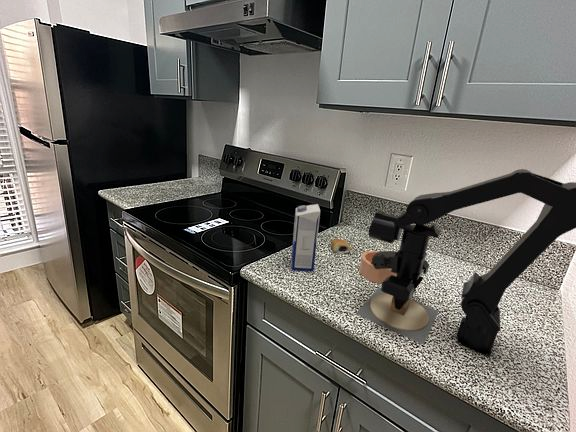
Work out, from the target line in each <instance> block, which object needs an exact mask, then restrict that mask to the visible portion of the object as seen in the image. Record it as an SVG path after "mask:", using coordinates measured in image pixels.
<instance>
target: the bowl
mask: <svg viewBox="0 0 576 432" xmlns="http://www.w3.org/2000/svg"><path fill="white" fill-rule="evenodd" d="M377 252H380V251H379V250H367V251H365V252H363V253H362V254H361V257H360V262H359V263H360V264H359V274H360V276H362V277H364V279H366V280H368V281H371V282H373V283H376V284H380V285H382V282H383V281H384V280H385V279H386V278H387V277H388V276H391V275H393V276H397V273H393V272H391V269H375V268H374V266H373V265H372V264H371V262H372V258H373V256H374V255H375V254H376V253H377Z"/></svg>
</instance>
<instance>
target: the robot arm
mask: <svg viewBox="0 0 576 432" xmlns="http://www.w3.org/2000/svg"><path fill="white" fill-rule="evenodd" d="M516 194H522V195H526V196H527V197H530V198H532V199H534V200H535V201H539V202H540V203H543V204H544V205H543V207H542V208H541V211H540V213H539V215H538V217H537V219H536V220H535V222H534V223H533V224H532V225H531V226H530V227H529V228H528V230H526V231H525V232H524V234H523V235H522V236H521V237H520V238H519V239H518V240H517V241H516V242H515V243H514V245H512V247H510V249H509V250H508V251H507V252H506V253H505V254H504V255H503V256H502V257H501V258H500V260H499V261H498V262H497V263H496V264H495V265H494V266H493V267H492V268H491V269H490V270H489V271H488V272H486V273H485V274H482V275H480V274H478V273H477V272H473V274H472V276H471V277H470V279H468V281H466V282H464V283H463V286H462V291H461V295H460V296H461V303H460V307H461V310H462V312H463V313H464V314H465V317H461V319H460V324H459V326H458V329H457V333H456V336H455V337H456V338H457V342H456V343H457V344H458V345H460V346H463V347H465V348H467V349H470V350H471V351H474V352H476V353H479V354H482V355H484V356H485V357H488V358H490V357H491V356H492V350H493V346H494V344H495V341H496V338H497V336H498V333H499V332H500V331H501V309H500V307H499V306H498V305H499V304H500V302H501V299H502V297H503V295H504V294H505V291H507V288H509V286H510V285H512V284H513V283H514V282H515V281H516V280H517V279H518V278H519V276H520V275H522V274H523V273H524V272H525V271H526V270H527V269H528V268H529V266H531V265H532V263H534V262H535V261H536V259H538V258H539V257H540V256H541V255H542V254H543V253H544V252H545V251H546V250H547V249H548V248H549V247H550V246H551V245H552V244H553V243H554V242H555V241H556V240H557V239H558V238H559V237H561V236H563V235H564V234H566V233H568V232H570V231H572V230H575V229H576V182H574V181H573V182H571V181H570V182H565V183H563V182H561V181H558V180H555V179H552V178H550V177H546V176H543V175H540V174H536V173H534V172H532V171H530V170H528V169H524V168H520V169H516V170H514V171H512V172H510V173H506V174H503V175H500V176H497V177H494V178H490V179H488V180H487V179H486V180H484V181H481V182H477V183H473V184H471V185H468V186H464V187H461V188H458V189H454V190H451V191H446V192H444V191H443V192H434V193H433V192H431V193H426V194H421V195H417V196H416V197H415V198H413V199H412V200H411V201H410V202H409V203H408V204H407V206H406V211H404V212H401V214H400V215H394V214H389V213H385V212H384V211H381V210H380V211H379V210H377V211H376V212H374V217H373V218H372V221H371V223H370V226H369V228H368V238H371V239H375V240H377V241H381V242H386V243H389V244H392V245H393V244H394V243H395V241H397V242H399V241H400V238H401V242H400V246H399V250H397V251H394V250H391V251H389V250H388V251H387V250H383V251H382V250H381V251H380V252H377V253H376V254H375V255H374V256H373V258H372V262H371V264H372V265H373V266H374V268H375V269H391V272H393V273H397V276H393V275H391V276H388V277H387V278H386V279H385V280H384V281H383V282H382V284H381V286H380V288H381V291H382V292H384V293H387V294H389V295H392V296H394V301H395V308H396V309H398V310H400V309H401V308H402V307H403V305H404V304H405V303H406V302H407V301H408V300H409V299H410V297H411V298H412V296H413V295H414V293H415V292H416V290H417V288H418V287H419V285H420V284H421V283H422V281H423V280H424V276H422V275H427V273H428V272H429V269H430V264H429V262H428V261H427V260H426V258H427V256H428V253H427V250H428V246H429V241H430V237H432V238H435V239H436V238H439V237H440V234H441V230H440V229H439V228H438V227H437V225H436V223H432V224H430V223H431V222H434V221H436V220H438V219H440V218H442V217H444V216H446V215H448V214H450V213H452V212H454V211H456V210H461V209H465V208H468V207H471V206H475V205H479V204H483V203H488V202H490V201H494V200H496V199H500V198H501V199H502V198H505V197H509V196H512V195H513V196H514V195H516ZM427 224H430V225H427Z"/></svg>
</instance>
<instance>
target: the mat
mask: <svg viewBox="0 0 576 432" xmlns="http://www.w3.org/2000/svg"><path fill="white" fill-rule="evenodd" d="M380 294H387V293H384V292H382V291H381V287H378V288H377V290H376V291H375V292H374V293H373V294H372V295H371V296H370V297H369V298H368V299H367V301H365V302H364V304H363V305H362V306H361V307H360V308H359V309H358V311H357V312H356V313H355V314H356V315H357V316H359V317H362V318H363V319H366V320H368V321H370V322H373V323H375V324H377V325H379V326H381V327H384V328H386V329H387V330H390V331H392V332H394V333H397V334H399V335H400V336H403V337H406V338H407V339H409V340H412V341H414V342H416V343H418V344H421V345H424V344H425V342H426V340H427V339H428V336H429V334H430V331H431V329H432V327H433V325H434V322H435V321H436V318H437V316H438V314H439V312H440V311H439V310H438V309H435V308H432V307H431V306H427V305H425V304H421V303H419V302H417V303H418V304H420V305H421V306H422V307H423V308H424V309H425V310H426V311H427V313H428V315H429V321H428V324H427V326H426V327H425V328H423V329H421V330H418V331H404V330H399V329H396V328H393V327H390V326H388V325H386V324H384V323H382V322H381V321H380V320H378V319H377V318H376V317H375V316H374V315H373V313H372V312H371V309H370V303H371V300H372V299H373V298H374V297H375V296H377V295H380Z"/></svg>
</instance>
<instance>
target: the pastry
mask: <svg viewBox="0 0 576 432" xmlns="http://www.w3.org/2000/svg"><path fill="white" fill-rule="evenodd" d="M330 246H331V250H332V251H333V253H334V254H348V253H350V252H351V249H352V248H351V245H350V244H349V243H348V242H347V240H346V241H345V240H344V239H341V238H334V239H332V240H331V244H330Z"/></svg>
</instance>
